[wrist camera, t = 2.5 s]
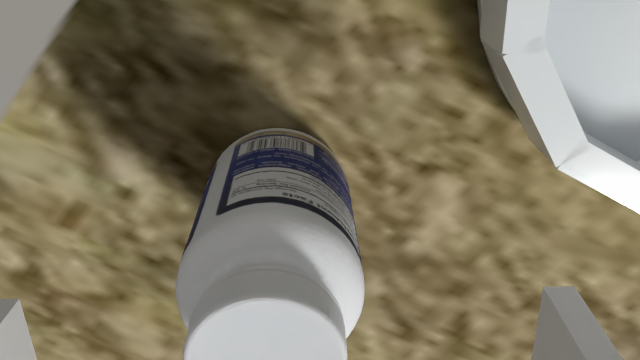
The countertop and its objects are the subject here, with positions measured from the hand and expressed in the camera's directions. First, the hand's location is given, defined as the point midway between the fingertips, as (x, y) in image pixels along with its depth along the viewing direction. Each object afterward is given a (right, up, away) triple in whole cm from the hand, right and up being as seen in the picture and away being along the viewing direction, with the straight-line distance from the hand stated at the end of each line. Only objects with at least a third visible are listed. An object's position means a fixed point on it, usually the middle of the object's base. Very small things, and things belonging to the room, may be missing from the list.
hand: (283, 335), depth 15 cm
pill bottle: (-1, +4, +8) cm, 9 cm away
